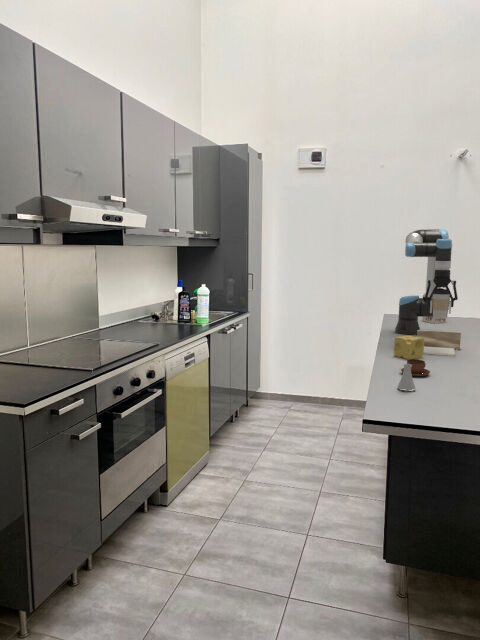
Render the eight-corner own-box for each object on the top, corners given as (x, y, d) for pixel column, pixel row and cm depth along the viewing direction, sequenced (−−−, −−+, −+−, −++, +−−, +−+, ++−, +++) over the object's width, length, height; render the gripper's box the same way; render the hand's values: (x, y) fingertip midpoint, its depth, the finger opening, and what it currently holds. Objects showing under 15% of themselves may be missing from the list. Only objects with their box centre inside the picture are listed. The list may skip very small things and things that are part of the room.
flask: (394, 387, 209) (395, 362, 208) (411, 386, 210) (413, 362, 208) (401, 392, 202) (402, 367, 201) (419, 392, 203) (420, 366, 201)
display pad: (422, 347, 286) (422, 346, 286) (453, 349, 280) (454, 348, 280) (421, 353, 271) (421, 352, 271) (455, 355, 265) (455, 354, 265)
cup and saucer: (407, 370, 237) (407, 356, 236) (433, 374, 230) (434, 360, 229) (396, 375, 228) (397, 361, 227) (423, 380, 221) (424, 365, 220)
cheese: (408, 360, 257) (409, 340, 255) (392, 355, 266) (393, 336, 265) (423, 357, 262) (424, 338, 260) (407, 353, 271) (408, 334, 270)
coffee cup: (450, 319, 268) (452, 289, 265) (432, 318, 269) (433, 289, 267) (447, 316, 276) (449, 288, 274) (429, 316, 278) (430, 287, 276)
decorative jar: (421, 321, 378) (423, 296, 375) (434, 320, 382) (435, 295, 380) (434, 324, 367) (435, 298, 364) (446, 322, 372) (448, 297, 369)
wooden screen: (416, 345, 292) (417, 329, 291) (459, 348, 285) (460, 331, 283) (416, 347, 287) (417, 331, 285) (460, 350, 279) (461, 333, 278)
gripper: (420, 269, 269) (418, 313, 273) (465, 270, 262) (462, 315, 265) (420, 268, 276) (418, 311, 280) (464, 269, 269) (462, 313, 272)
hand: (440, 313), depth 273 cm, fingers closed on coffee cup, 8 cm apart
